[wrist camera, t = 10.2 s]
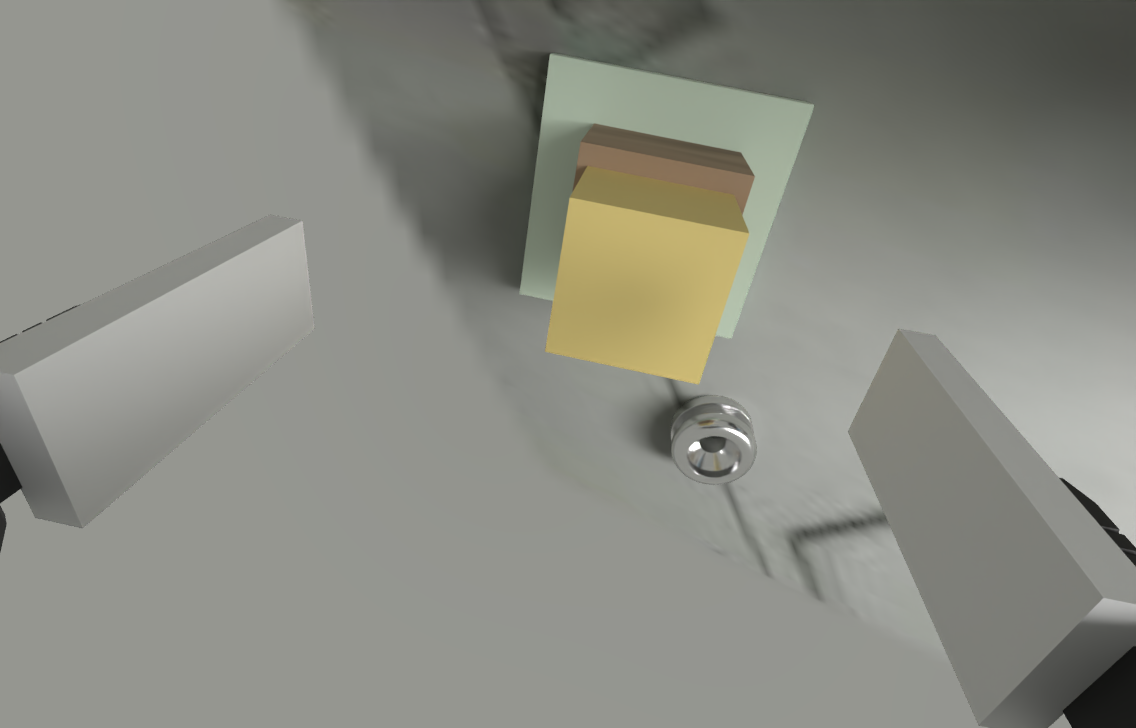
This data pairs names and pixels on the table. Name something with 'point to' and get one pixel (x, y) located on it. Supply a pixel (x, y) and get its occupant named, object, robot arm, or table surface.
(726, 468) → the metal grooved wheel
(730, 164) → the walnut base
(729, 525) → the table surface
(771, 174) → the build plate
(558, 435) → the table surface
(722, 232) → the mustard cube
